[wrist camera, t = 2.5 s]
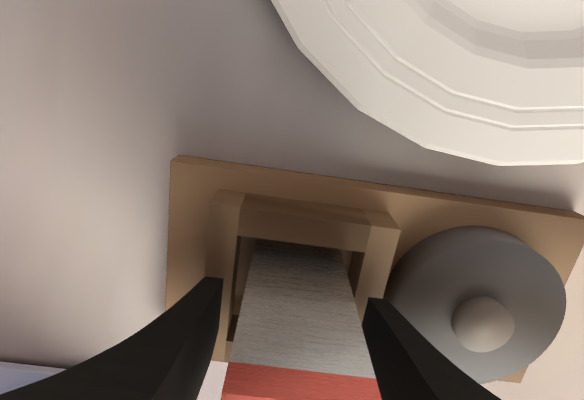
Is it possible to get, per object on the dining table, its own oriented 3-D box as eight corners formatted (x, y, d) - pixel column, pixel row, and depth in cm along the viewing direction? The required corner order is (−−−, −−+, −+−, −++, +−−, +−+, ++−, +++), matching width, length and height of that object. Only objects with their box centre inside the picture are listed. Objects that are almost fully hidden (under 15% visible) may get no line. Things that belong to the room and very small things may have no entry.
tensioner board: (507, 366, 17) (550, 424, 14) (171, 325, 16) (146, 377, 13) (574, 211, 14) (643, 244, 12) (179, 155, 14) (149, 175, 11)
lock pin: (324, 313, 15) (352, 517, 8) (248, 304, 15) (209, 503, 8) (339, 244, 14) (384, 411, 7) (257, 234, 14) (221, 393, 7)
